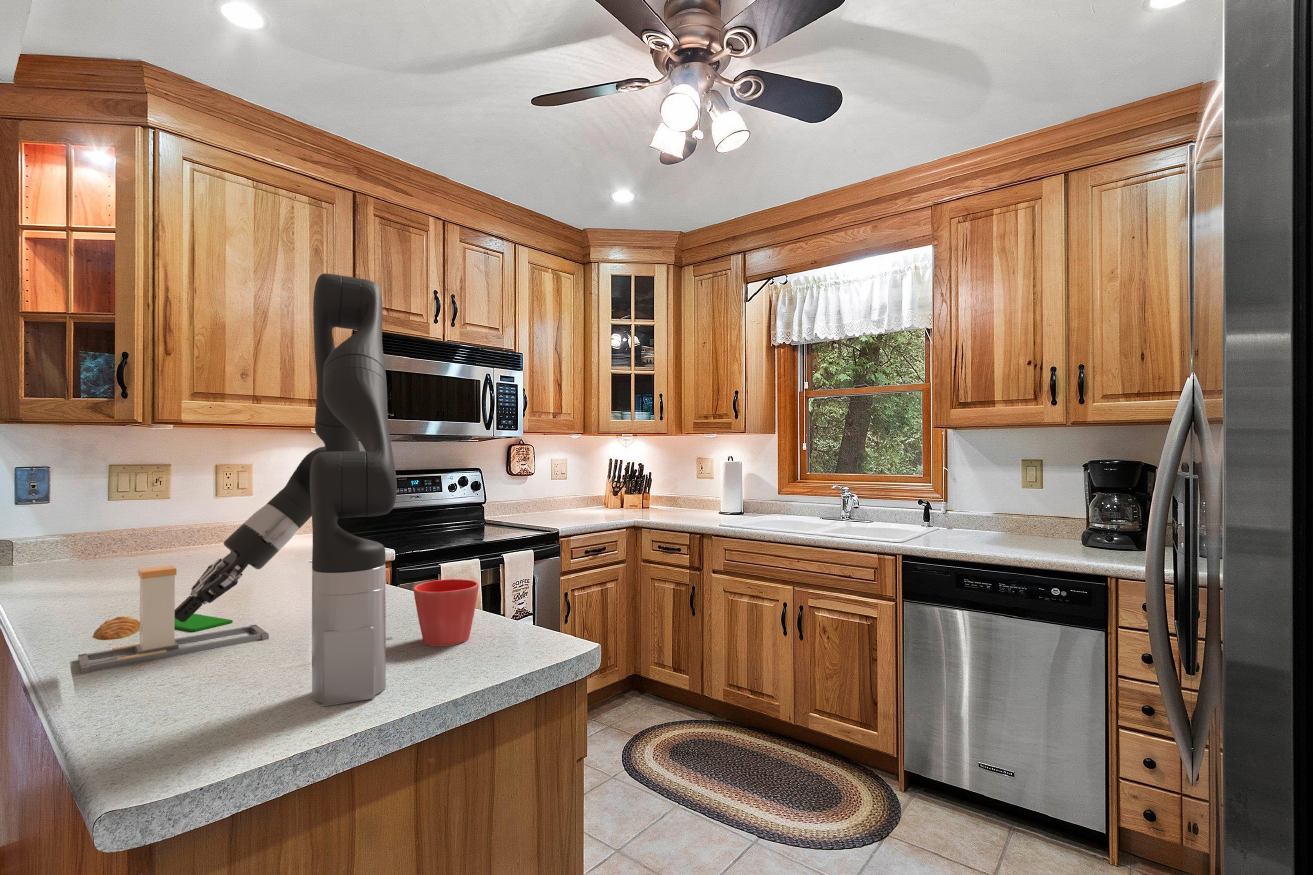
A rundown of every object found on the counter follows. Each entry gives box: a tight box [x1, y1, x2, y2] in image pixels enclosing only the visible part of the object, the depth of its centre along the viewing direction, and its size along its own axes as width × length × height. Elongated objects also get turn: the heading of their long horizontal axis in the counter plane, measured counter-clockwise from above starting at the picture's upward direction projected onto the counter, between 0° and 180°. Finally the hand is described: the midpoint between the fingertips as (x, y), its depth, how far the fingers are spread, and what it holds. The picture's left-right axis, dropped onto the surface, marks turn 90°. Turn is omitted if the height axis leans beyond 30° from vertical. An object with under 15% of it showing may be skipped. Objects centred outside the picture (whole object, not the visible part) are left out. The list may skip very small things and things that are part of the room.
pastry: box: [92, 616, 140, 641], centre depth 115 cm, size 9×7×4 cm
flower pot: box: [413, 578, 480, 647], centre depth 114 cm, size 11×11×10 cm
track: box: [77, 624, 270, 675], centre depth 105 cm, size 24×9×2 cm, turn 134°
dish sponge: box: [174, 613, 234, 633], centre depth 121 cm, size 7×14×2 cm, turn 65°
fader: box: [134, 565, 180, 655], centre depth 104 cm, size 5×5×13 cm
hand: (176, 618), depth 105 cm, fingers closed
